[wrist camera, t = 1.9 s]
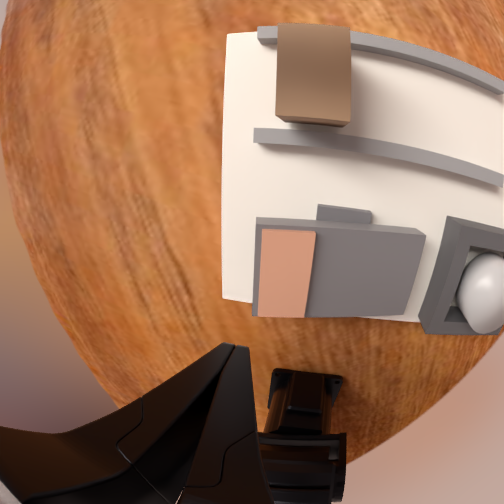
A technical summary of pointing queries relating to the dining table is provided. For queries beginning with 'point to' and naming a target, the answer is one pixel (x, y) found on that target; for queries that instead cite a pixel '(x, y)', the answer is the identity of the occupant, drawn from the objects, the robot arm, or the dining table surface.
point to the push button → (482, 292)
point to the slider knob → (313, 74)
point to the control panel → (370, 163)
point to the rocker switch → (333, 268)
